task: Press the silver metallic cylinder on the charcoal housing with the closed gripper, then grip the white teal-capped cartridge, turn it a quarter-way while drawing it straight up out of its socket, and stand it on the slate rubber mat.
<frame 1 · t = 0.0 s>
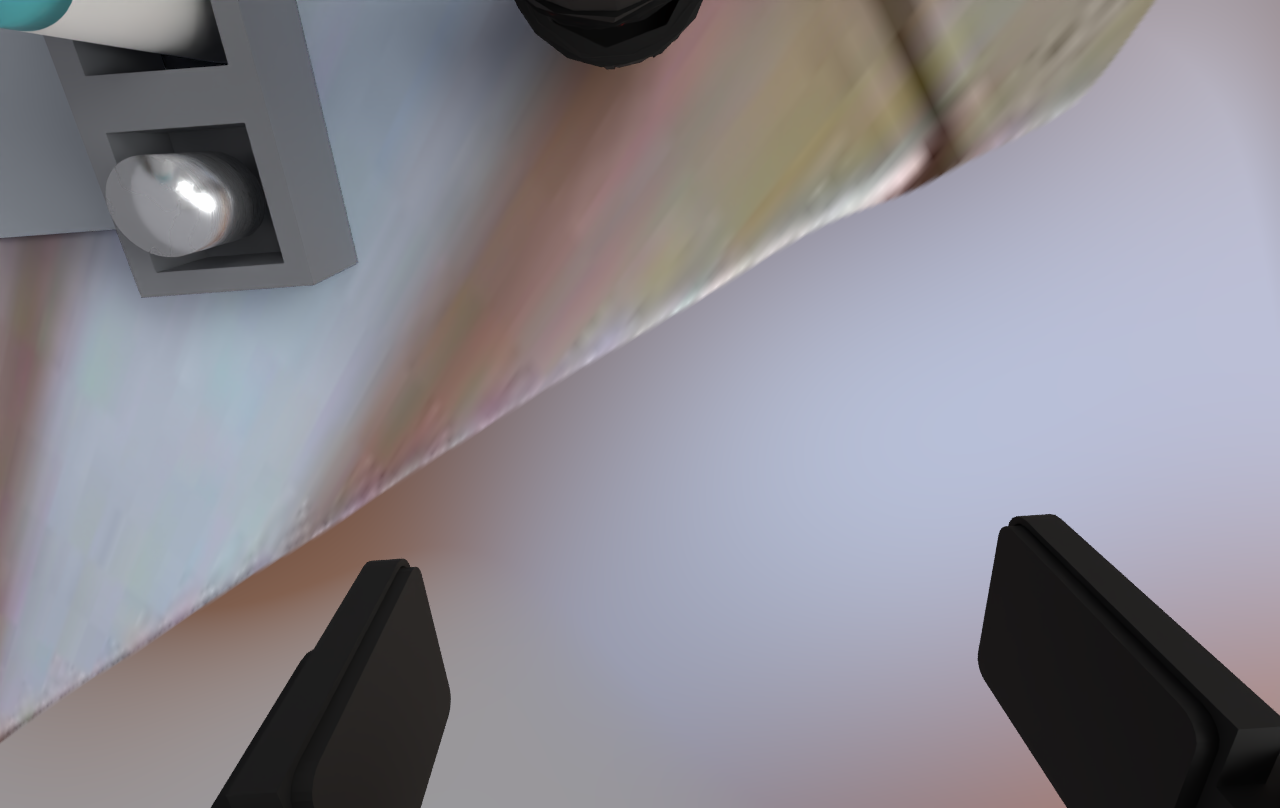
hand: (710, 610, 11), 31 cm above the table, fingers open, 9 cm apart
silver metallic cylinder: (192, 201, 31), point 7 cm above the table, slide at 0.0 cm
cartridge: (210, 9, 34), resting in housing
housing: (237, 104, 36), on the table
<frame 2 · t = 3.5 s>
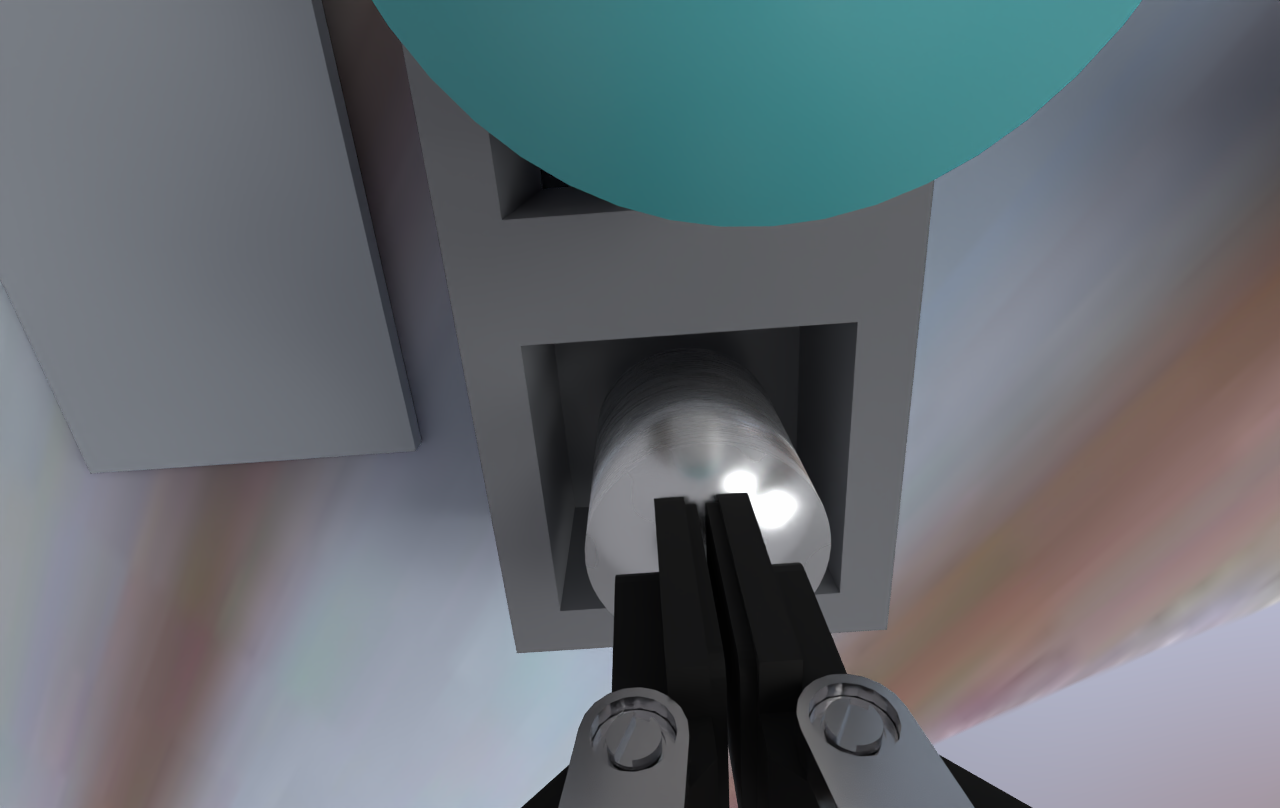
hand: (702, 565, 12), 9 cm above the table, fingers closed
silver metallic cylinder: (694, 482, 14), point 6 cm above the table, slide at 0.4 cm, touching gripper
cartridge: (659, 38, 16), resting in housing
mat: (185, 223, 18), on the table
housing: (668, 226, 18), on the table
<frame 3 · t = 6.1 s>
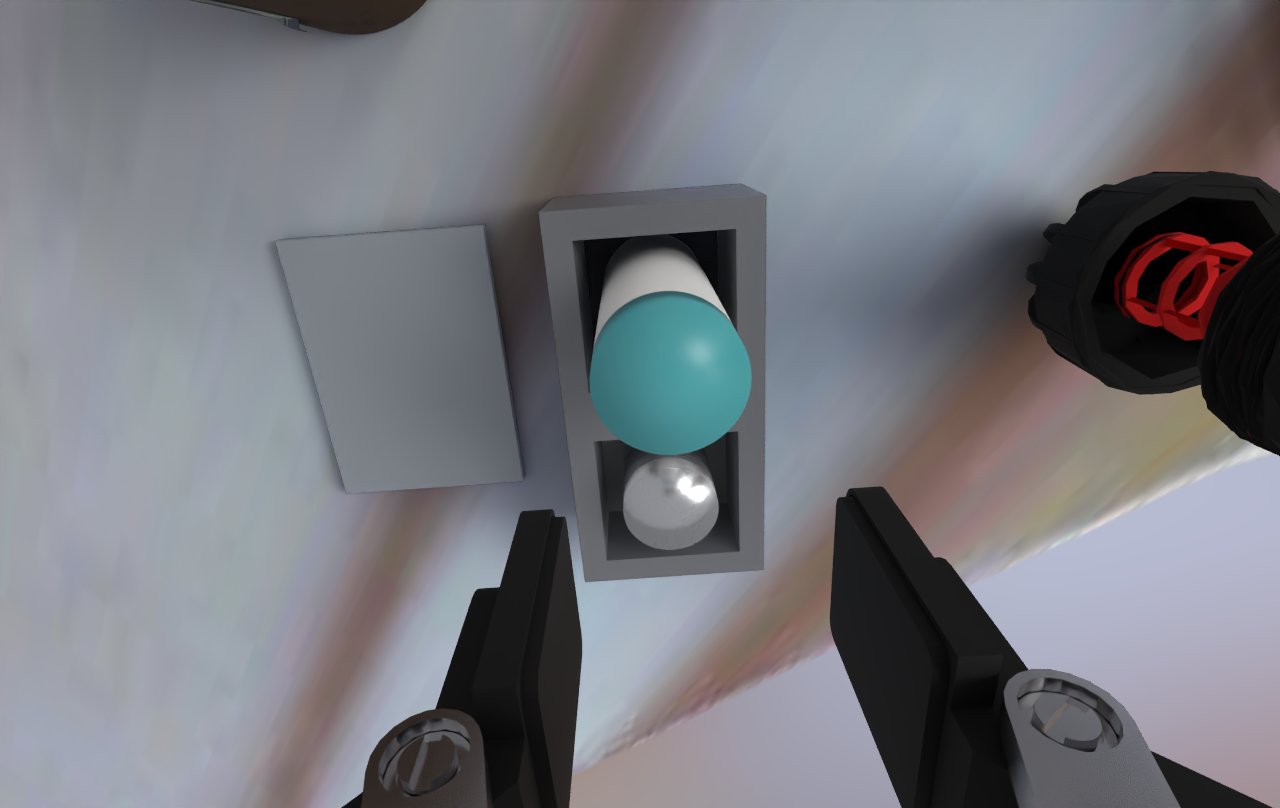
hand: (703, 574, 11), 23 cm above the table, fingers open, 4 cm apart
silver metallic cylinder: (667, 482, 32), point 5 cm above the table, slide at 2.0 cm
cartridge: (653, 283, 33), resting in housing
mat: (412, 366, 34), on the table
filter: (1089, 241, 33), on the table
housing: (658, 367, 35), on the table
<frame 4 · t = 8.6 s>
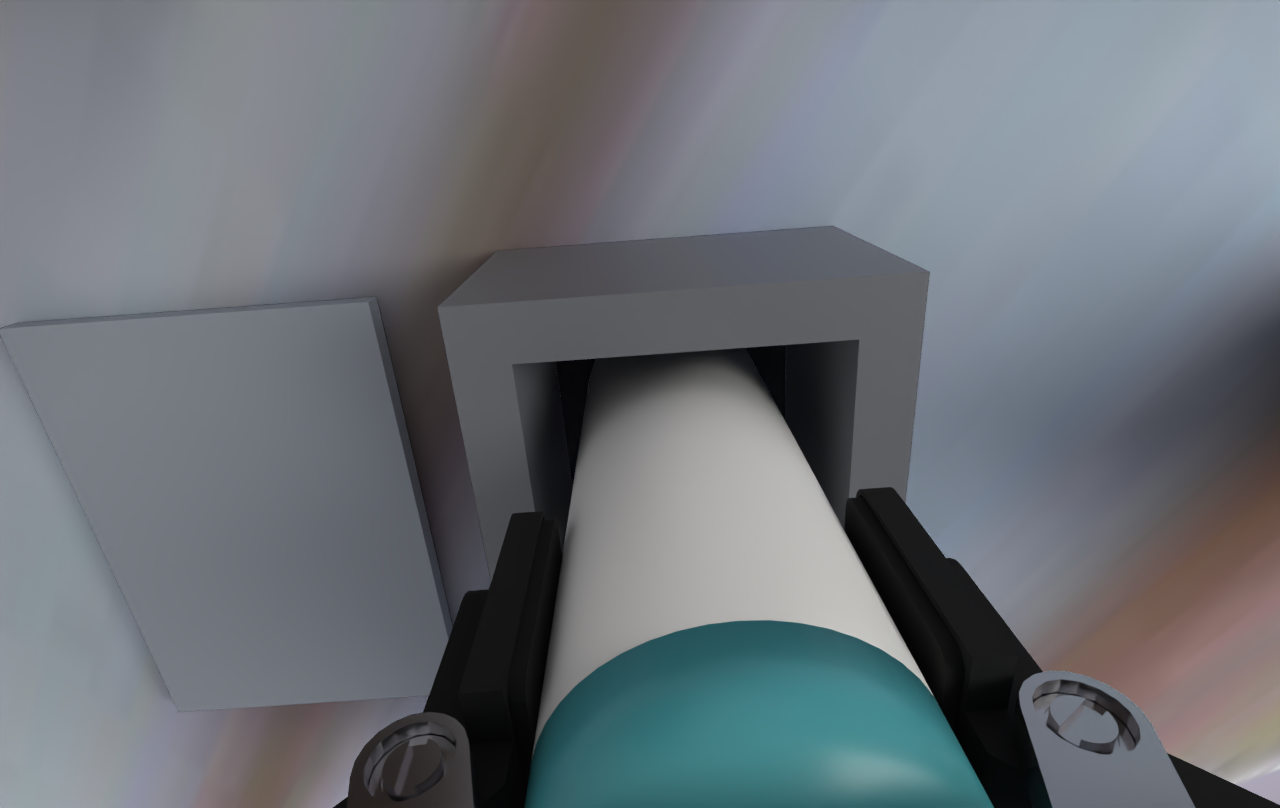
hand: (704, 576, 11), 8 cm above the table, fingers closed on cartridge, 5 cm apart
cartridge: (672, 394, 19), resting in housing, touching gripper
mat: (270, 524, 21), on the table
housing: (680, 523, 21), on the table
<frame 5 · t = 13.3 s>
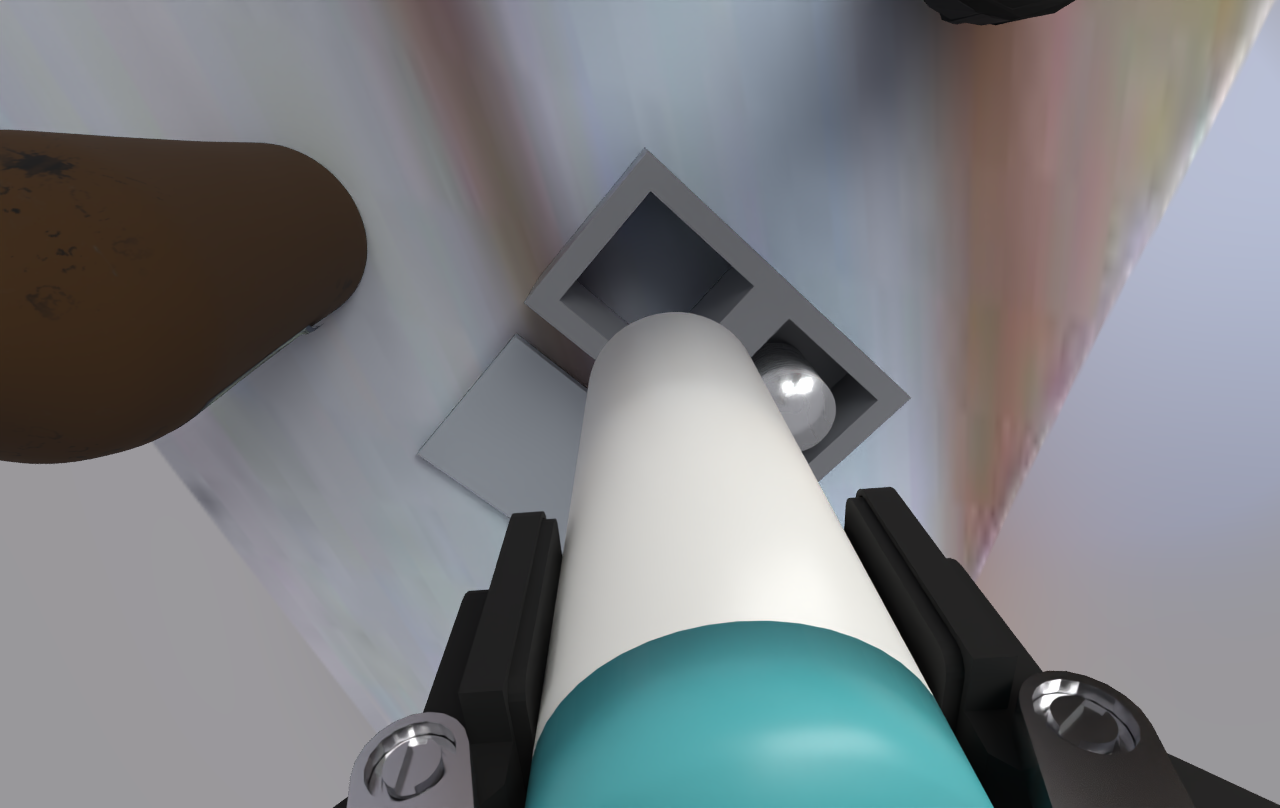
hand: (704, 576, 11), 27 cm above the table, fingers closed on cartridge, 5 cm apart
silver metallic cylinder: (780, 395, 35), point 5 cm above the table, slide at 2.0 cm
cartridge: (672, 394, 19), point 19 cm above the table, touching gripper
mat: (557, 460, 41), on the table
olive oil: (282, 236, 36), on the table
housing: (710, 319, 38), on the table
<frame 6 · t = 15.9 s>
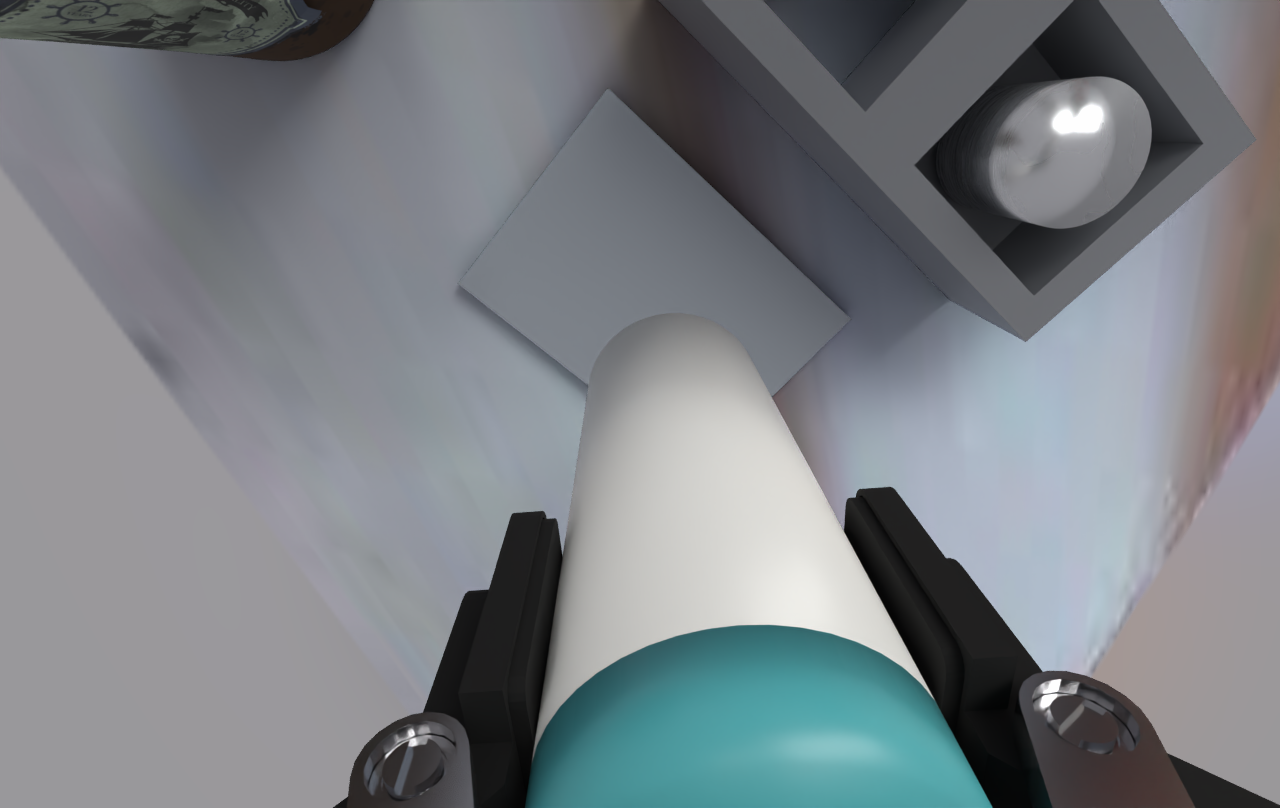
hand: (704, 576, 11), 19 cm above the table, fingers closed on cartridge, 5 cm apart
silver metallic cylinder: (1032, 152, 22), point 5 cm above the table, slide at 2.0 cm
cartridge: (673, 395, 19), point 11 cm above the table, touching gripper
mat: (657, 298, 29), on the table
housing: (897, 66, 25), on the table
when the fingers open (10 cm above the table, at t = 18.0 s): cartridge stays where it is, resting on mat.
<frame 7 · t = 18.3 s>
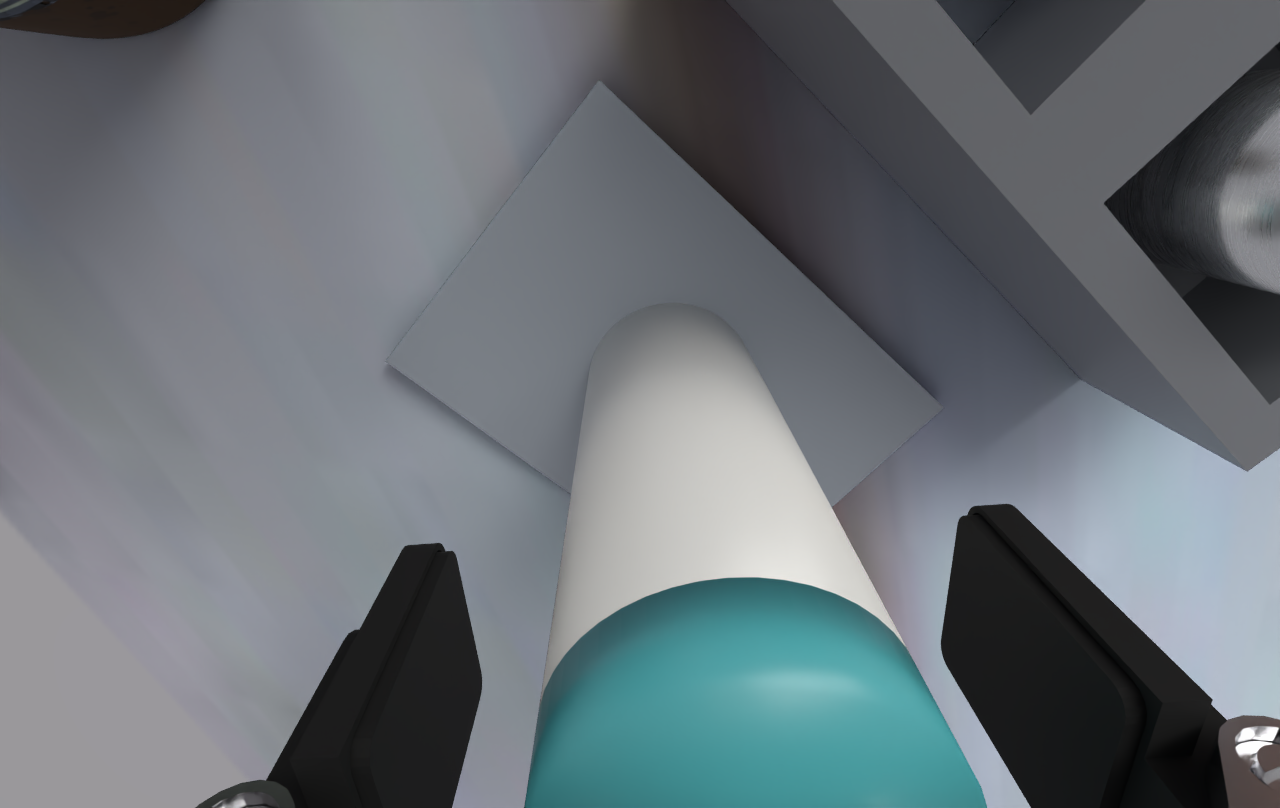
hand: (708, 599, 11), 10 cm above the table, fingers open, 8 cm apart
silver metallic cylinder: (1273, 179, 14), point 5 cm above the table, slide at 2.0 cm
cartridge: (670, 383, 20), point 1 cm above the table, touching mat
mat: (670, 378, 20), on the table
housing: (1031, 48, 17), on the table
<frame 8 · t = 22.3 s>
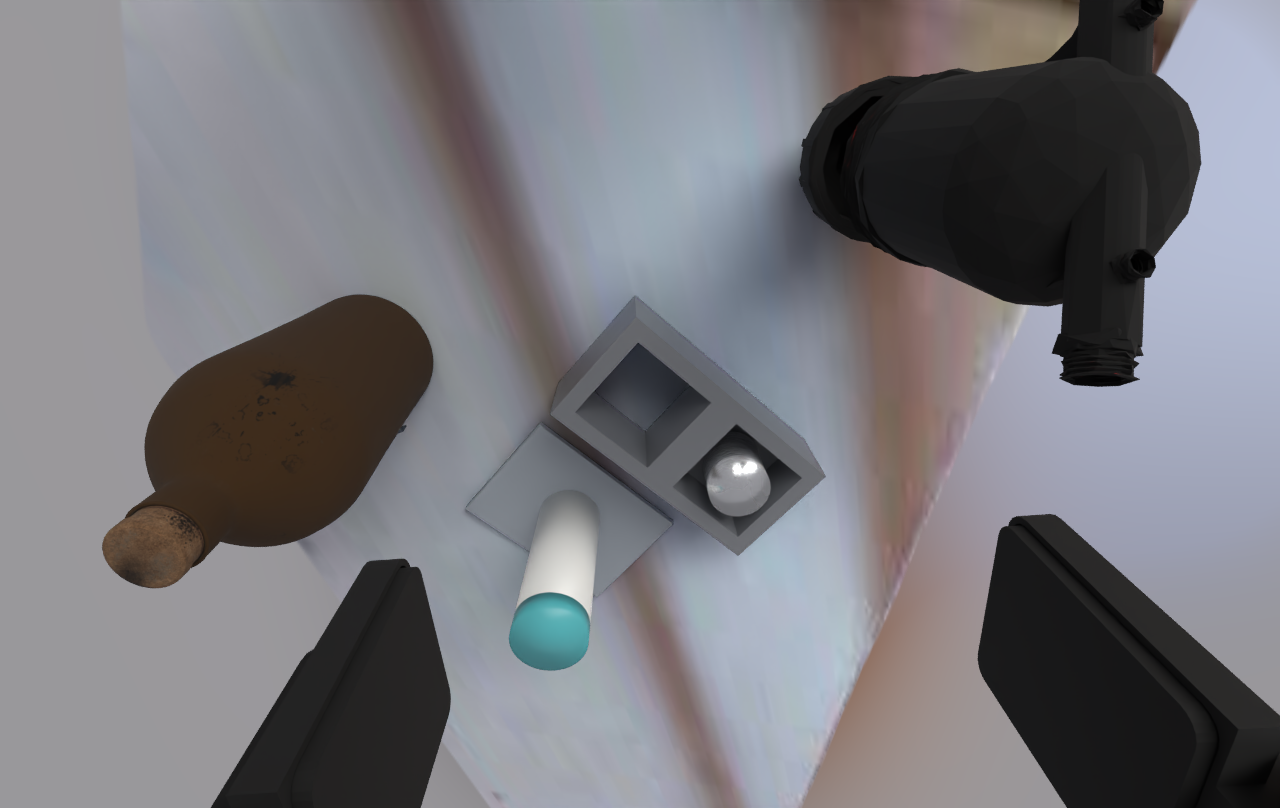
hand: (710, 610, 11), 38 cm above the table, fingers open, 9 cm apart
silver metallic cylinder: (734, 472, 48), point 5 cm above the table, slide at 2.0 cm
cartridge: (569, 516, 54), point 1 cm above the table, touching mat
mat: (570, 512, 54), on the table
filter: (850, 138, 44), on the table
olive oil: (371, 355, 49), on the table
housing: (684, 411, 51), on the table
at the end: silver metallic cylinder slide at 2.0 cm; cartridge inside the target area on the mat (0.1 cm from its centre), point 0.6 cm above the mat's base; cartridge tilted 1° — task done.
